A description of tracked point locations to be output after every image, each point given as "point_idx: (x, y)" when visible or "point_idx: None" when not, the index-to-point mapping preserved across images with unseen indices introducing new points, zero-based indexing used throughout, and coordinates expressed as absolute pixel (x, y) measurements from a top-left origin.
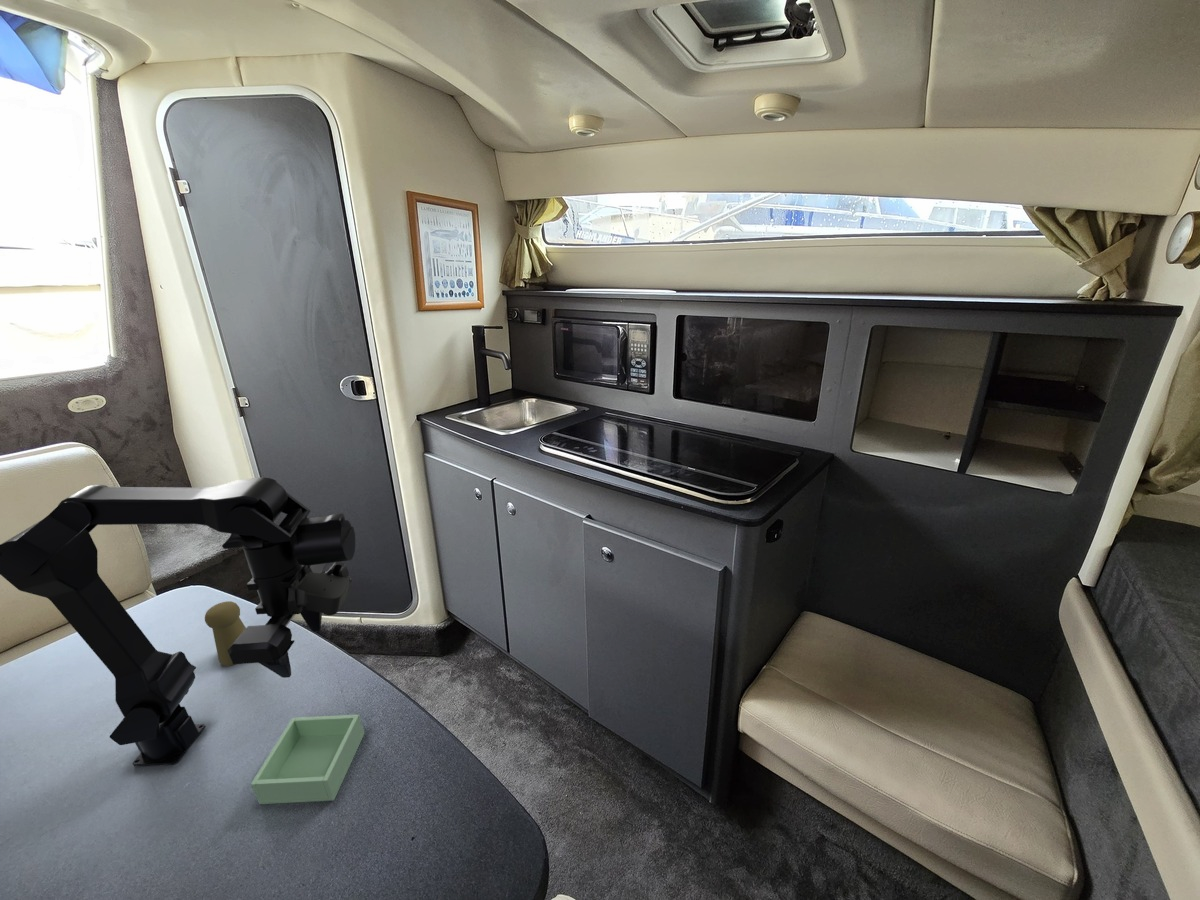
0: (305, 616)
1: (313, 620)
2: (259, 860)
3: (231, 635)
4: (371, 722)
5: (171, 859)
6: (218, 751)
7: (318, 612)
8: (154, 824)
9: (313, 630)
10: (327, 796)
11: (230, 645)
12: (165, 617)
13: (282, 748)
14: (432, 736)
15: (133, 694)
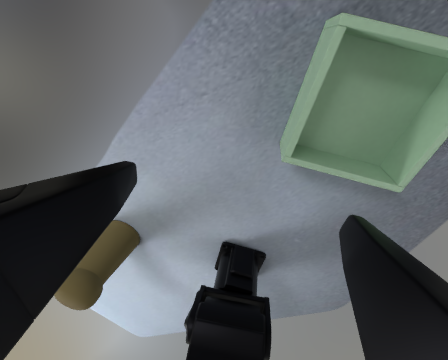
0: (86, 240)
1: (100, 202)
2: None
3: (107, 262)
4: (302, 9)
5: (394, 234)
6: (263, 224)
7: (53, 201)
8: (334, 253)
9: (134, 183)
10: None
11: (119, 253)
12: None
13: (330, 162)
14: None
15: None
